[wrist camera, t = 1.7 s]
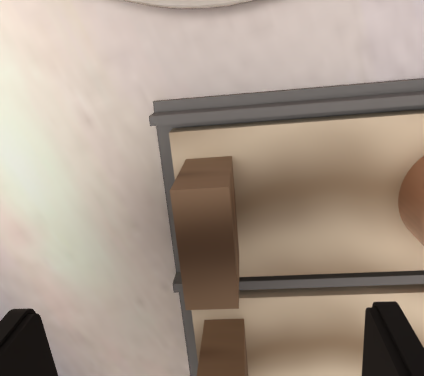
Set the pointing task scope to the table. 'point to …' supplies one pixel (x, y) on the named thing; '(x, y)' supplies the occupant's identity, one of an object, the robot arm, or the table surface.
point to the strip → (296, 330)
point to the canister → (413, 200)
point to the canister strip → (291, 200)
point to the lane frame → (272, 111)
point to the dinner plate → (188, 3)
